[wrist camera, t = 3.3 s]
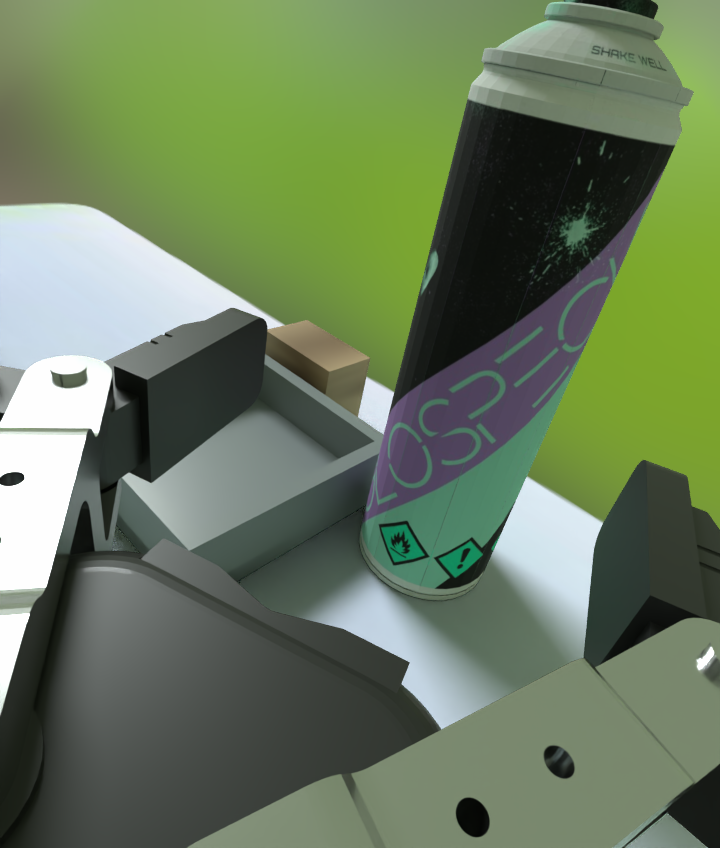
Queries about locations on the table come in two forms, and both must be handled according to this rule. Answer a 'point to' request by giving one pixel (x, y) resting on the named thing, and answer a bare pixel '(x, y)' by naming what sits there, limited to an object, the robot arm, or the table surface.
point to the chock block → (320, 361)
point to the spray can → (516, 279)
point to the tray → (258, 480)
